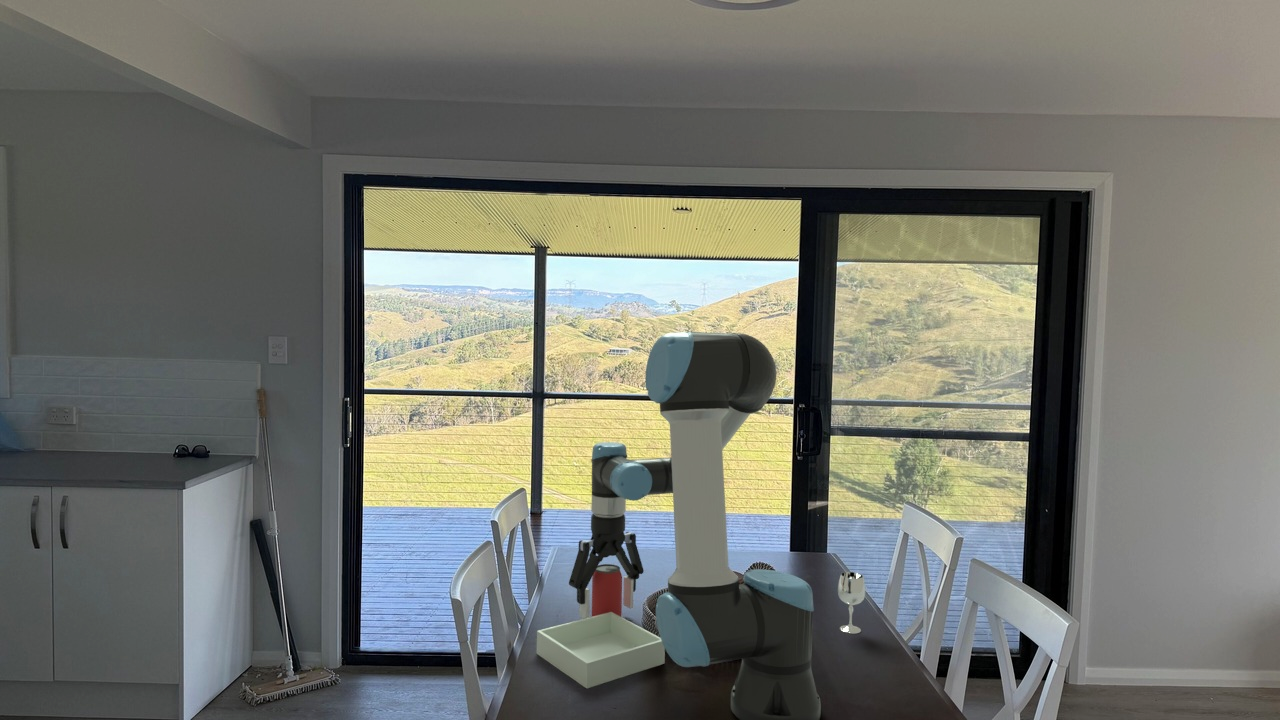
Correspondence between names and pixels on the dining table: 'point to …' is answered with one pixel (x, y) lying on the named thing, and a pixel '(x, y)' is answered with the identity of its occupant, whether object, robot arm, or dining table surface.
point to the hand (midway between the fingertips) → (606, 612)
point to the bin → (600, 648)
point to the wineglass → (851, 595)
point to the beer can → (607, 590)
